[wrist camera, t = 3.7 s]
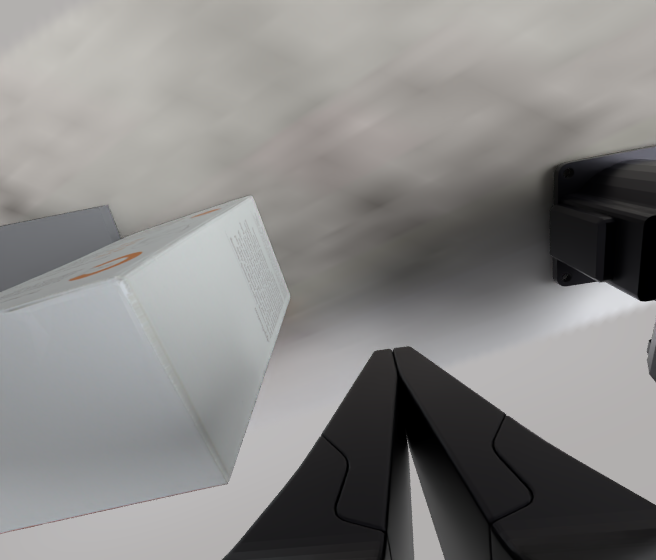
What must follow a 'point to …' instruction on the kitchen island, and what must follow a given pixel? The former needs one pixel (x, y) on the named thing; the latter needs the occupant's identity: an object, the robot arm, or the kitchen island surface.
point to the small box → (136, 366)
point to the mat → (52, 243)
